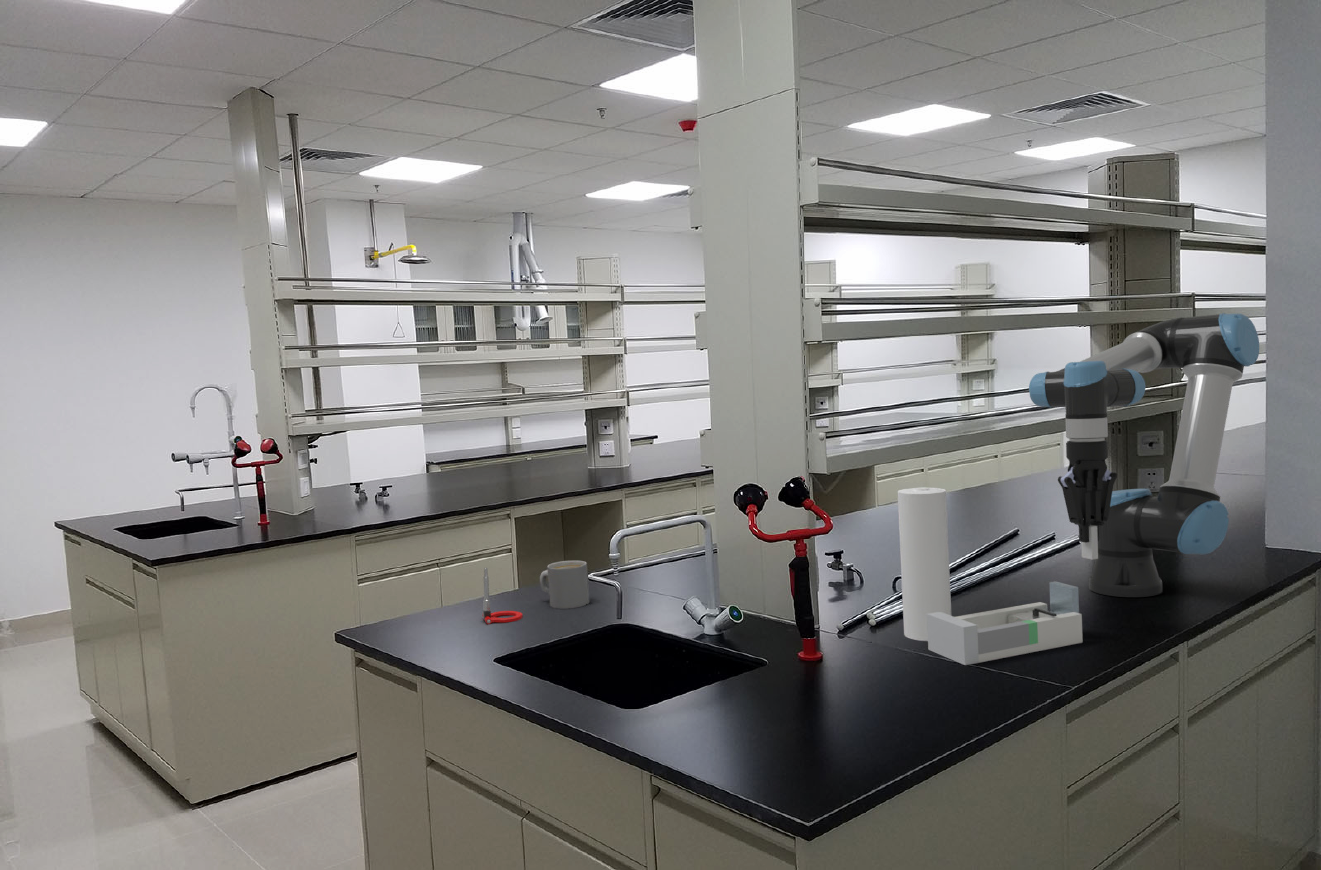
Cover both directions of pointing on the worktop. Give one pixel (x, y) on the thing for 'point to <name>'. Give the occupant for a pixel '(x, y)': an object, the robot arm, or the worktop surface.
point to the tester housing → (1000, 634)
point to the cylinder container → (923, 557)
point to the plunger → (1053, 603)
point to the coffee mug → (566, 584)
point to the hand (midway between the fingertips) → (1089, 557)
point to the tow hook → (490, 616)
